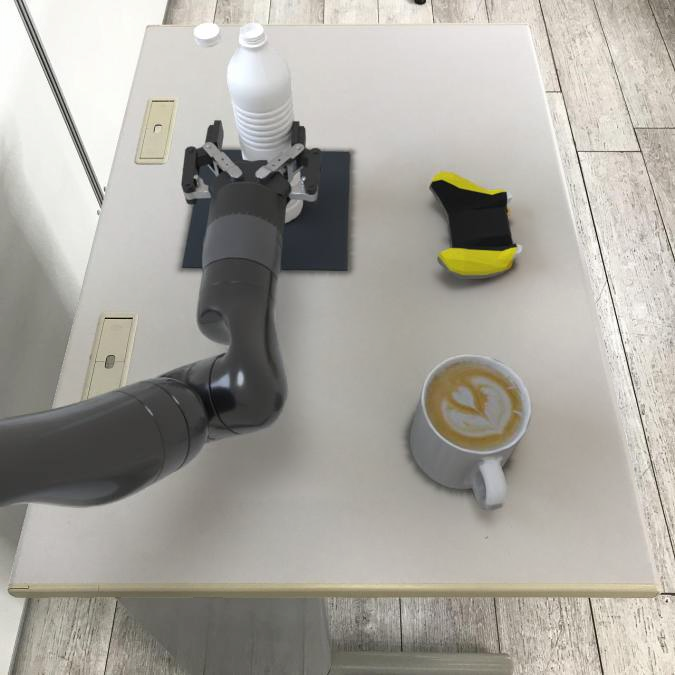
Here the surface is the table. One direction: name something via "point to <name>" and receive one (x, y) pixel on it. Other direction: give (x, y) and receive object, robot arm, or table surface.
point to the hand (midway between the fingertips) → (258, 126)
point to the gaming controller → (474, 227)
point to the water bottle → (258, 97)
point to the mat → (295, 220)
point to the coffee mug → (470, 425)
